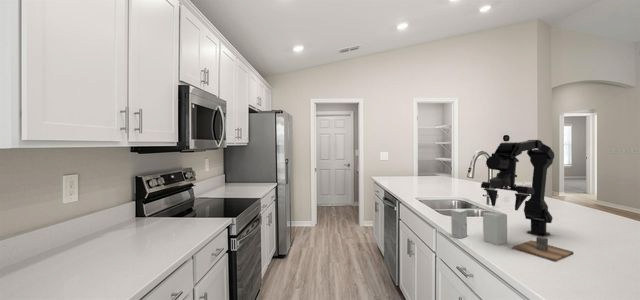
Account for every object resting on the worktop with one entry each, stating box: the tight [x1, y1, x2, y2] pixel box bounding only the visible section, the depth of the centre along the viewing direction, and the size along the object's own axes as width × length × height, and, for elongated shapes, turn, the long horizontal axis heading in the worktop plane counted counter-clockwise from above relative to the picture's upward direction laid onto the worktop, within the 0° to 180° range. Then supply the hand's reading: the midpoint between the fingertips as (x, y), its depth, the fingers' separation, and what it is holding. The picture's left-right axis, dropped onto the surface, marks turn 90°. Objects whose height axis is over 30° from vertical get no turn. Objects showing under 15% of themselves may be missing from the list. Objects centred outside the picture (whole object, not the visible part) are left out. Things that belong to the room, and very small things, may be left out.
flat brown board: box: [512, 235, 574, 262], centre depth 105 cm, size 14×14×5 cm
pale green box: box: [482, 211, 508, 246], centre depth 116 cm, size 6×6×12 cm
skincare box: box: [450, 208, 468, 239], centre depth 124 cm, size 6×4×12 cm
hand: (504, 208), depth 114 cm, fingers open, 9 cm apart
